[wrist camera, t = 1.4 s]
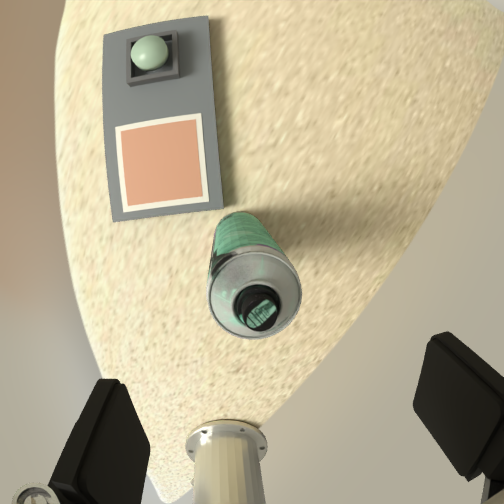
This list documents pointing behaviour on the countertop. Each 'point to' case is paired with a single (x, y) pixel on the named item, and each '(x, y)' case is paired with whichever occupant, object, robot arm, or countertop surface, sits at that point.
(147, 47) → the button
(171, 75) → the picture board
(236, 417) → the countertop surface
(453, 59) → the countertop surface
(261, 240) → the spray can
